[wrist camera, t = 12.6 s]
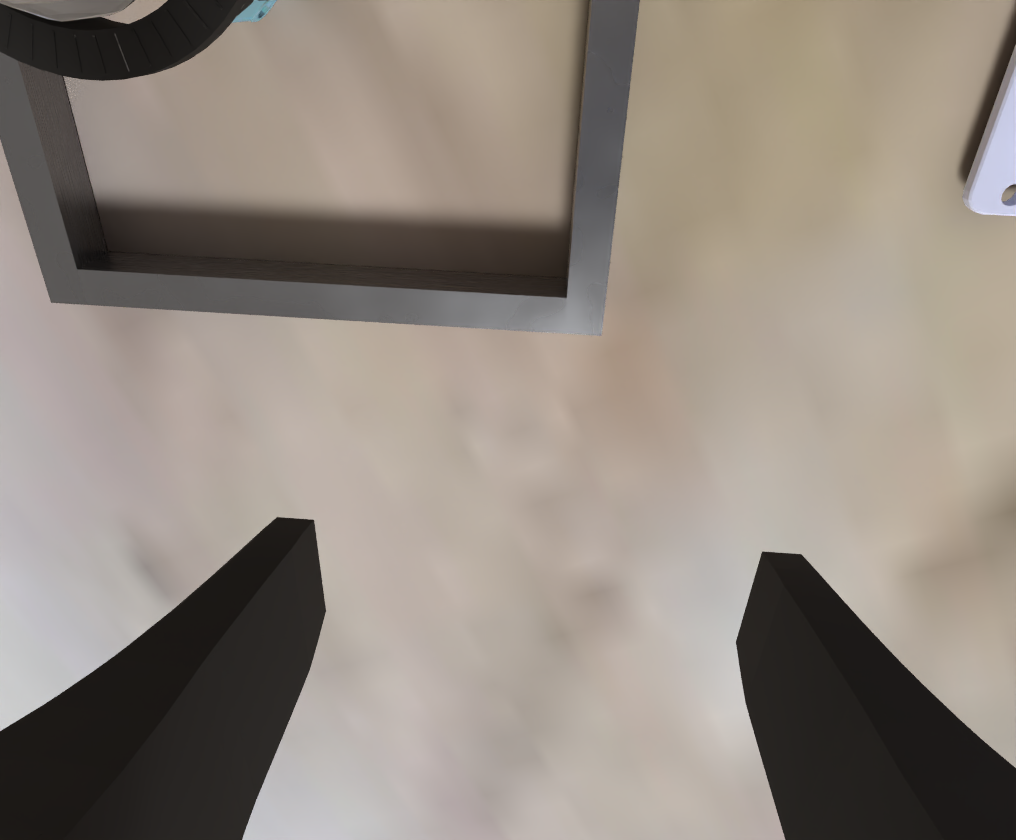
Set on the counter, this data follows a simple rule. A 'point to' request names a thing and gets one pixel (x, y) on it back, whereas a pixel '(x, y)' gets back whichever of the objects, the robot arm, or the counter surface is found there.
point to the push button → (115, 34)
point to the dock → (321, 287)
